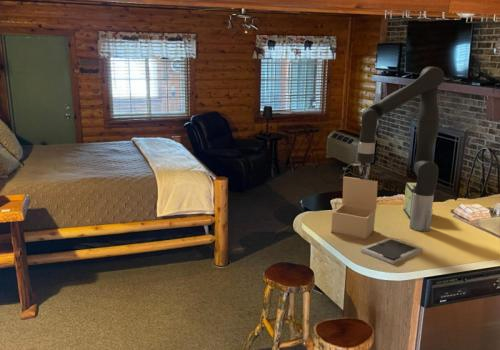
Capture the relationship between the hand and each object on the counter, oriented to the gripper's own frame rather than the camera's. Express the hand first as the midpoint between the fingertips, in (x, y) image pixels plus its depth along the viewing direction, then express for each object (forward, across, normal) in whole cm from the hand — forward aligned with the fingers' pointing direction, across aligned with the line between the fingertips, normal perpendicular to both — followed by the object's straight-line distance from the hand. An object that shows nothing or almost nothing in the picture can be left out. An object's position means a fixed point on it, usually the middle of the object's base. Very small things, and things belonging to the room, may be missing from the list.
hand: (362, 187), depth 227 cm
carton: (+19, -11, 0) cm, 22 cm away
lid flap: (+2, -5, 0) cm, 6 cm away
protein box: (+18, +31, -21) cm, 42 cm away
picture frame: (+20, -26, -21) cm, 39 cm away
